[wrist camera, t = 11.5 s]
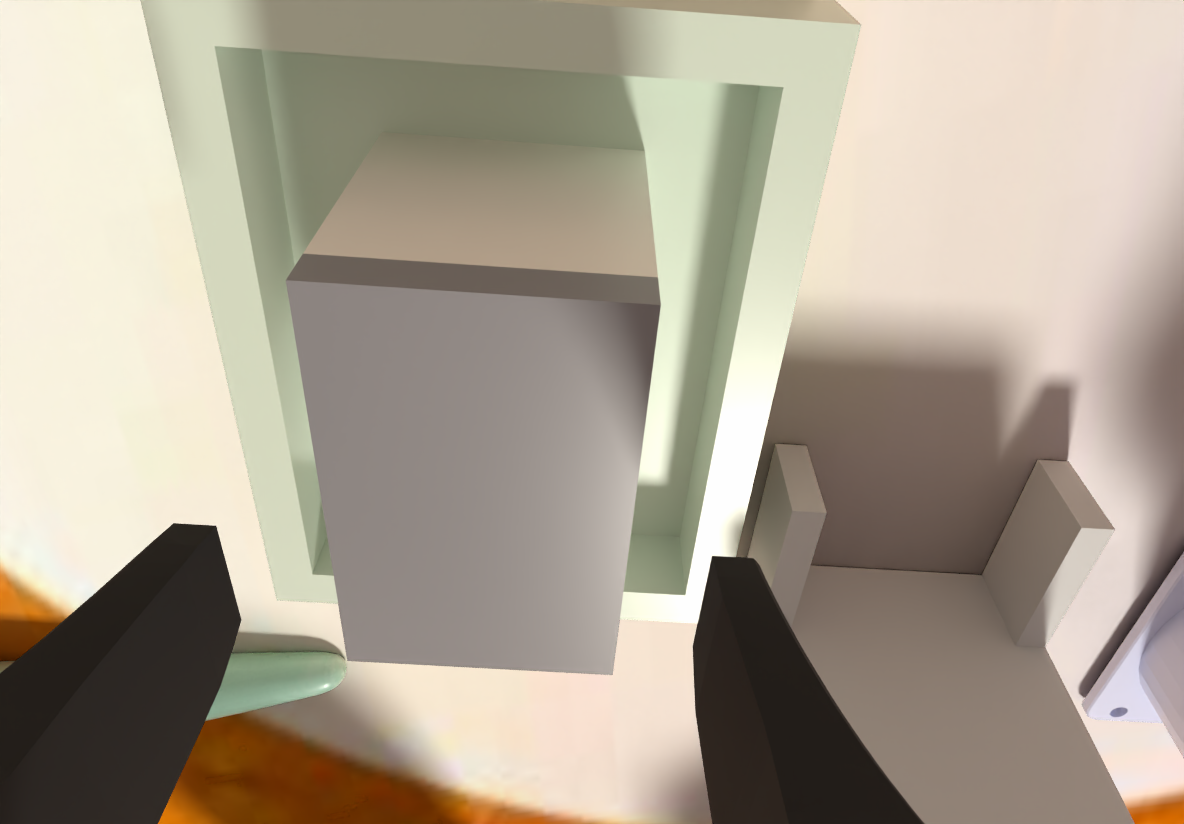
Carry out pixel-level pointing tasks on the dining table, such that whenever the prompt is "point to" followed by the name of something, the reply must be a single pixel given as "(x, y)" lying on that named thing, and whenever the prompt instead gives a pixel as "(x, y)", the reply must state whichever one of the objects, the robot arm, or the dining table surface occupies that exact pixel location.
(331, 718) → the dining table surface
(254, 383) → the tray
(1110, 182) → the dining table surface
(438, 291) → the tall grey beige-topped block
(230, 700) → the long green cone
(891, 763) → the dock
